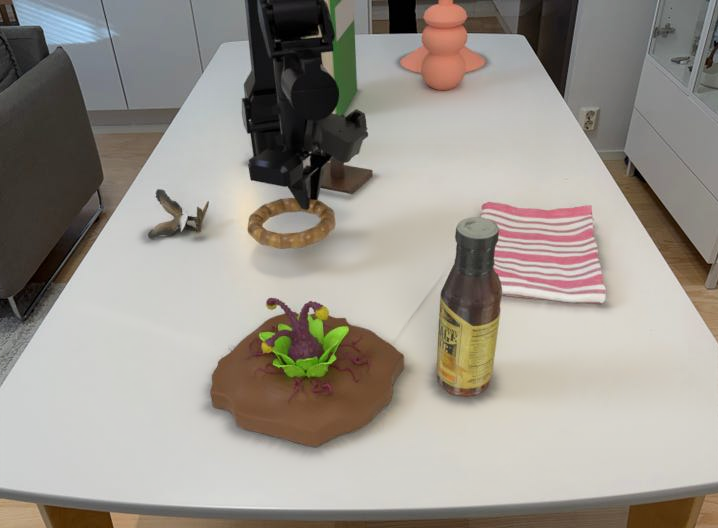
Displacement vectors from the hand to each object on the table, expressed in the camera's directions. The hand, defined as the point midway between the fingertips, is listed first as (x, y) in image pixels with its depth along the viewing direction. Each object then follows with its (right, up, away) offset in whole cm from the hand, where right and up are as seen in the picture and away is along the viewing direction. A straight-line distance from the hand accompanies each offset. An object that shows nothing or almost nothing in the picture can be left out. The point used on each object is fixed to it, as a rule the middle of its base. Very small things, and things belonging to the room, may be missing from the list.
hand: (309, 205), depth 98 cm
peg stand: (+3, +9, +21) cm, 23 cm away
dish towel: (+32, -8, 0) cm, 33 cm away
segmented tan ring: (-2, -3, -3) cm, 5 cm away
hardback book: (+1, +34, +53) cm, 63 cm away
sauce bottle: (+19, -25, -21) cm, 37 cm away
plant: (+2, -25, -20) cm, 32 cm away
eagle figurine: (-21, -3, +9) cm, 23 cm away
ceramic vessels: (+26, +48, +69) cm, 88 cm away
